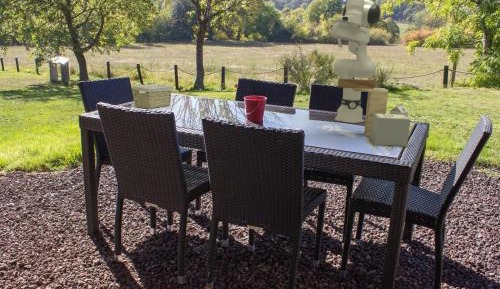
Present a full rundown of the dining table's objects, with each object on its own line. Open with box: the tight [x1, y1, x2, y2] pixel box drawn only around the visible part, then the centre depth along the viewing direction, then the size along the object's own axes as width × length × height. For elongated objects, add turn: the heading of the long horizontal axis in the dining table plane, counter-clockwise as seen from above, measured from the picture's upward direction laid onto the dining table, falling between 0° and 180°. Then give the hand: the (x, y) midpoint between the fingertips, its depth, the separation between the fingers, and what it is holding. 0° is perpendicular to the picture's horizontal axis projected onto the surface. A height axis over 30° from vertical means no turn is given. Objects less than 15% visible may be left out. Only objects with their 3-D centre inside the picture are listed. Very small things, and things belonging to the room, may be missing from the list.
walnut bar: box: [337, 78, 376, 89], centre depth 254 cm, size 4×19×4 cm, turn 87°
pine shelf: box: [352, 87, 389, 138], centre depth 257 cm, size 9×18×26 cm, turn 87°
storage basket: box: [132, 83, 173, 110], centre depth 321 cm, size 24×16×15 cm
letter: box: [376, 113, 409, 119], centre depth 240 cm, size 11×14×1 cm
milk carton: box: [389, 103, 409, 118], centre depth 253 cm, size 7×7×19 cm
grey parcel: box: [370, 114, 411, 147], centre depth 242 cm, size 12×16×14 cm
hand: (348, 49), depth 234 cm, fingers open, 8 cm apart
